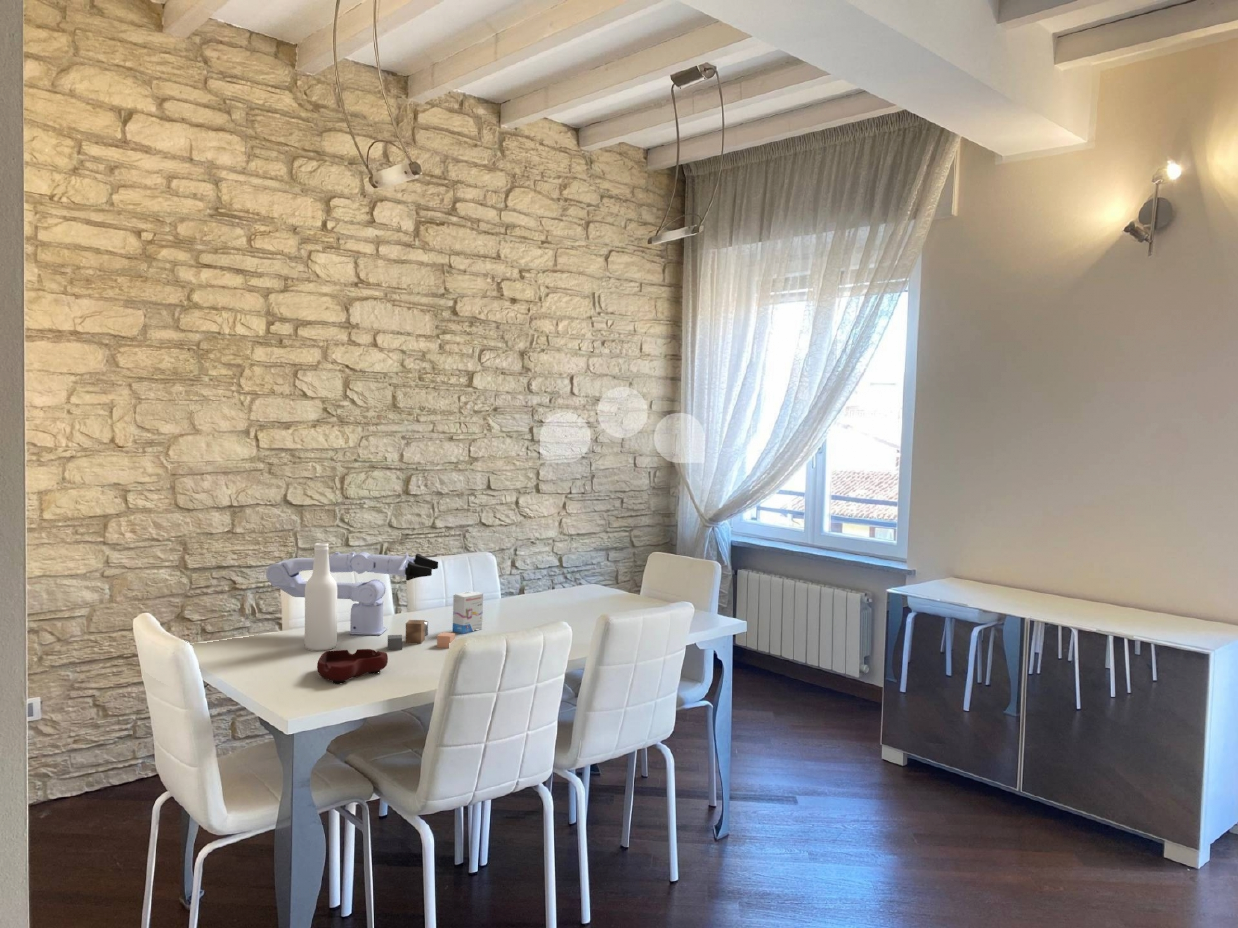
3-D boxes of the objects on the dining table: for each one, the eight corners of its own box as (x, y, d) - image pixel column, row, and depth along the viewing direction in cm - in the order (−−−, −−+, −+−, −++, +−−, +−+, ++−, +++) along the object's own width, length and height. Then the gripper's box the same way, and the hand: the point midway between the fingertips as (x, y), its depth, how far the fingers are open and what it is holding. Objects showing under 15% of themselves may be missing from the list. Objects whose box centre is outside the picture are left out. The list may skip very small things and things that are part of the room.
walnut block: (405, 643, 262) (405, 623, 261) (409, 639, 266) (409, 619, 266) (421, 643, 261) (421, 623, 261) (424, 639, 266) (424, 620, 266)
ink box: (463, 634, 274) (463, 596, 273) (451, 631, 277) (452, 594, 276) (483, 629, 281) (483, 592, 280) (472, 626, 284) (472, 590, 283)
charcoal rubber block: (387, 650, 253) (387, 638, 253) (387, 647, 257) (387, 635, 257) (402, 650, 254) (402, 638, 254) (401, 646, 258) (401, 634, 258)
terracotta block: (436, 647, 258) (437, 635, 258) (442, 643, 262) (442, 632, 262) (450, 648, 257) (450, 636, 257) (455, 644, 261) (455, 633, 261)
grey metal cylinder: (413, 636, 270) (413, 623, 270) (416, 633, 274) (416, 620, 274) (426, 636, 270) (426, 623, 270) (429, 633, 274) (429, 620, 274)
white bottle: (299, 650, 251) (300, 545, 249) (311, 643, 259) (311, 541, 258) (330, 651, 250) (331, 546, 249) (341, 643, 259) (341, 541, 258)
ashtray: (352, 661, 242) (352, 643, 242) (393, 672, 233) (393, 653, 233) (296, 676, 227) (296, 657, 227) (338, 688, 218) (338, 668, 218)
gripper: (384, 558, 265) (429, 562, 264) (398, 546, 279) (441, 550, 279) (383, 581, 266) (428, 585, 265) (397, 568, 280) (440, 571, 280)
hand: (434, 568), depth 272 cm, fingers open, 7 cm apart
